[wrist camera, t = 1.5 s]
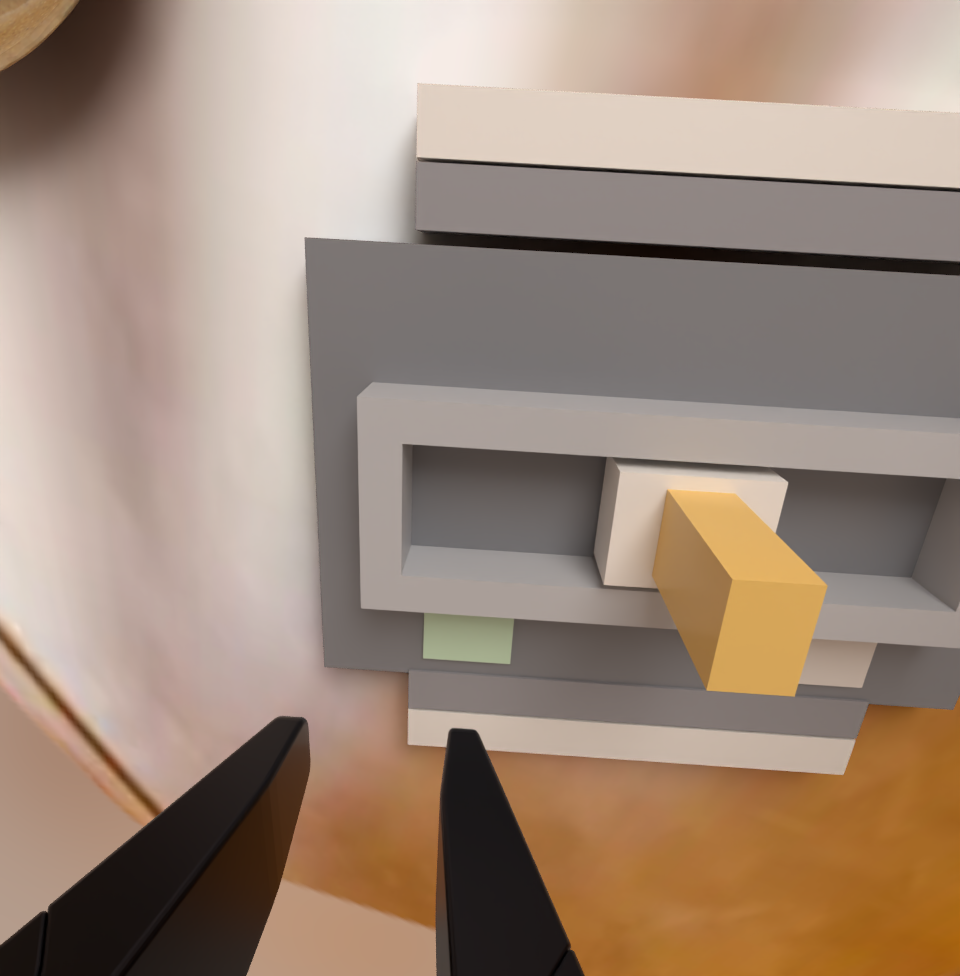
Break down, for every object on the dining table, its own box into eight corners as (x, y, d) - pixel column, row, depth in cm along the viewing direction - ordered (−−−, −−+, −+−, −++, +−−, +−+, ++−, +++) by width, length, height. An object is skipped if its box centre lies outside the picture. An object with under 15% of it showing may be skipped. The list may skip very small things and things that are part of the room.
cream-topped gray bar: (1023, 132, 16) (1077, 119, 14) (979, 264, 17) (1025, 264, 16) (425, 99, 16) (417, 83, 15) (422, 232, 17) (415, 229, 16)
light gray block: (844, 672, 22) (869, 702, 21) (821, 741, 23) (843, 774, 22) (415, 643, 22) (408, 671, 21) (413, 713, 24) (407, 744, 22)
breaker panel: (1080, 283, 17) (1216, 289, 14) (924, 681, 22) (997, 754, 19) (320, 239, 17) (278, 234, 14) (335, 641, 22) (307, 706, 19)
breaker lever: (757, 459, 18) (903, 572, 11) (734, 562, 19) (852, 716, 12) (607, 449, 18) (667, 556, 11) (593, 552, 19) (639, 701, 12)
